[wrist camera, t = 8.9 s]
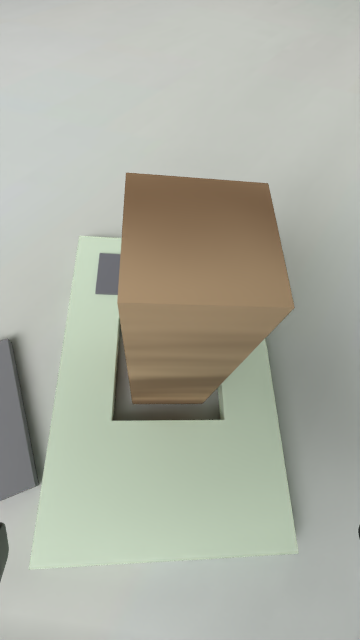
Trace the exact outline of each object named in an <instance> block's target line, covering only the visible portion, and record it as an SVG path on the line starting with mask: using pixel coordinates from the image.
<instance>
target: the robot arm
mask: <svg viewBox="0 0 360 640" xmlns="http://www.w3.org/2000/svg"><path fill="white" fill-rule="evenodd" d="M358 533H359V538H360V526H359V529H358ZM8 552H9V546H8V539H7V533H6V527H5V524H4V523H2V522H0V581H1V578H2V574H3V571H4V568H5V564H6V561H7V557H8Z"/></svg>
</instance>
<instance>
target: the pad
mask: <svg viewBox="0 0 360 640" xmlns="http://www.w3.org/2000/svg"><path fill="white" fill-rule="evenodd" d="M38 485H39V484H38V479H37V473H36V468H35V463H34V458H33V452H32V447H31V442H30V437H29V431H28V426H27V421H26V416H25V410H24V405H23V400H22V395H21V390H20V384H19V379H18V374H17V369H16V363H15V358H14V353H13V348H12V342H10V341H9V340H8V339H5V340H1V341H0V501H1V500H4V499H6V498H9V497H11V496H14V495H16V494H19V493H21V492H23V491H26V490H28V489H31V488H33V487H36V486H38Z"/></svg>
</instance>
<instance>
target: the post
mask: <svg viewBox="0 0 360 640" xmlns="http://www.w3.org/2000/svg"><path fill="white" fill-rule="evenodd" d="M117 304H118V311H119V317H120V324H121V331H122V337H123V344H124V351H125V357H126V364H127V371H128V377H129V384H130V391H131V397H132V404H202V403H203V402H204V401H205V400H206V399H207V398H208V397H209V396H210V395H211V394H212V393H213V392H214V391H215V390H216V389H217V388H218V387H219V386H220V385H221V384H222V383H223V382H224V381H225V379H226V378H227V377H228V376H229V375H230V374H231V373H232V372H233V371H234V370H235V369H236V368H237V367H238V366H239V365H240V364H241V363H242V362H243V361H244V360H245V359H246V358H247V357H248V356H249V355H250V354H251V352H252V351H253V350H254V349H255V348H256V347H257V346H258V345H259V344H260V343H261V342H262V341H263V340H264V339H265V338H266V337H267V336H268V335H269V334H270V333H271V332H272V331H273V330H274V329H275V328H276V327H277V325H278V324H279V323H280V322H281V321H282V320H283V319H284V318H285V317H286V316H287V315H288V314H289V313H290V312H291V311H292V310H293V309H294V308H295V307H294V303H293V298H292V293H291V288H290V284H289V279H288V274H287V270H286V265H285V260H284V256H283V251H282V246H281V241H280V237H279V232H278V227H277V223H276V218H275V213H274V208H273V204H272V199H271V194H270V190H269V185H268V183H256V182H243V181H230V180H217V179H203V178H190V177H177V176H164V175H151V174H137V173H126V181H125V196H124V211H123V225H122V240H121V255H120V270H119V285H118V299H117Z"/></svg>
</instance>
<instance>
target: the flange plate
mask: <svg viewBox="0 0 360 640" xmlns="http://www.w3.org/2000/svg"><path fill="white" fill-rule="evenodd" d="M121 240H122V238H110V237H92V236H79V241H78V248H77V254H76V261H75V268H74V274H73V281H72V287H71V294H70V300H69V307H68V314H67V320H66V327H65V333H64V340H63V347H62V353H61V360H60V366H59V373H58V380H57V386H56V393H55V399H54V406H53V412H52V419H51V426H50V432H49V439H48V445H47V452H46V459H45V465H44V472H43V478H42V485H41V492H40V498H39V505H38V511H37V518H36V525H35V531H34V538H33V544H32V551H31V557H30V564H29V570H30V569H47V568H64V567H81V566H98V565H115V564H132V563H149V562H166V561H183V560H200V559H217V558H234V557H251V556H268V555H285V554H299V553H298V546H297V540H296V533H295V527H294V520H293V514H292V507H291V501H290V494H289V488H288V481H287V475H286V468H285V462H284V455H283V449H282V442H281V436H280V429H279V423H278V416H277V410H276V403H275V397H274V390H273V384H272V377H271V371H270V364H269V358H268V351H267V345H266V338H265V339H264V340H263V341H262V342H261V343H260V344H259V345H258V346H257V347H256V348H255V349H254V350H253V351H252V352H251V354H250V355H249V356H248V357H247V358H246V359H245V360H244V361H243V362H242V363H241V364H240V365H239V366H238V367H237V368H236V369H235V370H234V371H233V372H232V373H231V374H230V375H229V376H228V377H227V378H226V379H225V381H224V382H223V383H222V384H221V385H220V386H219V387H218V397H219V410H220V420H151V421H113V417H114V402H115V387H116V373H117V358H118V343H119V329H120V317H119V311H118V304H117V299H118V285H119V270H120V255H121Z"/></svg>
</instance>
